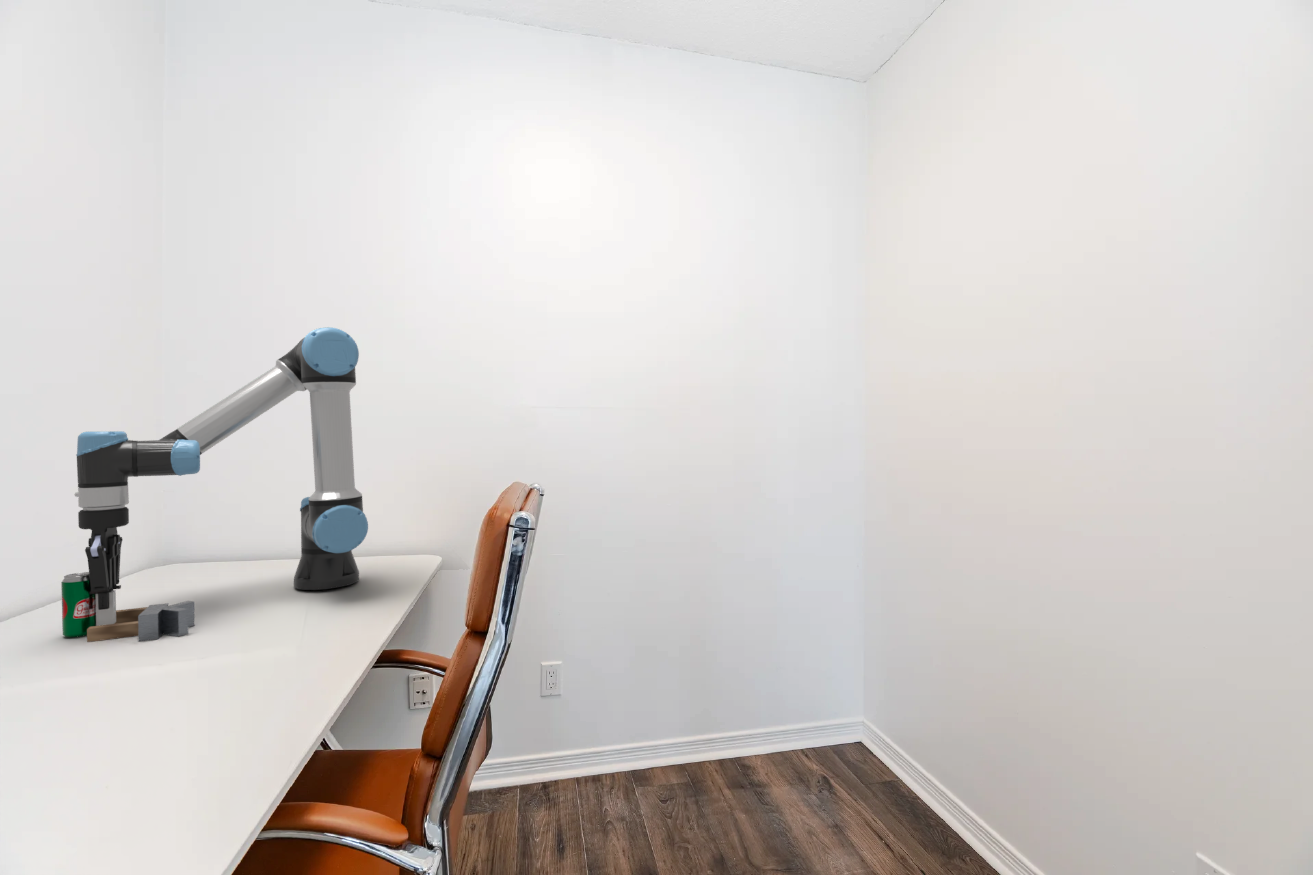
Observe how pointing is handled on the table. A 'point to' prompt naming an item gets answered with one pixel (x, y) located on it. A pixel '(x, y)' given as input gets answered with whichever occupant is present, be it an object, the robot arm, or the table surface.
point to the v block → (165, 620)
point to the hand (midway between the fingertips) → (106, 623)
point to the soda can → (77, 605)
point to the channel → (117, 626)
